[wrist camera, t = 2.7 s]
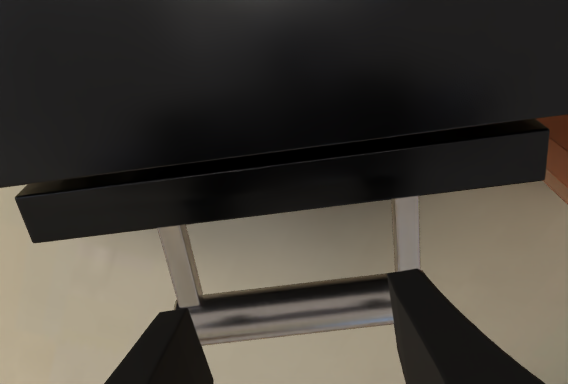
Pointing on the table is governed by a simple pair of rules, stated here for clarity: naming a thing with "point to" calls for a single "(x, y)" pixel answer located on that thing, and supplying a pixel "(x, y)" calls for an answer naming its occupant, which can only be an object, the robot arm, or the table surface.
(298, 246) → the table surface
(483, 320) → the table surface
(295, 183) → the drawer
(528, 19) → the cabinet
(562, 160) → the cup
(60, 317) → the table surface
